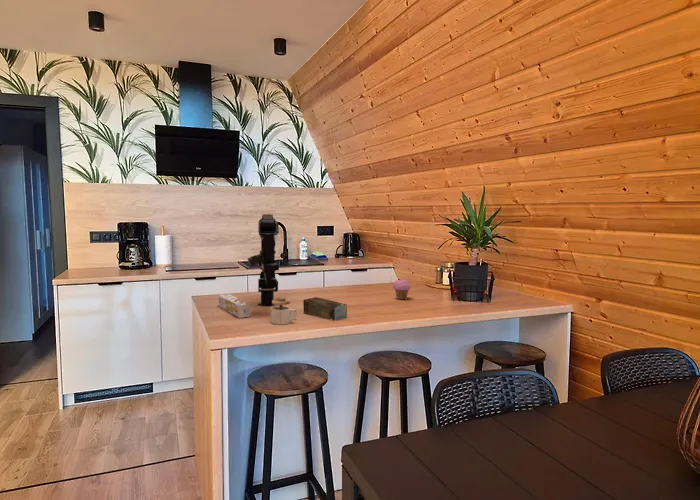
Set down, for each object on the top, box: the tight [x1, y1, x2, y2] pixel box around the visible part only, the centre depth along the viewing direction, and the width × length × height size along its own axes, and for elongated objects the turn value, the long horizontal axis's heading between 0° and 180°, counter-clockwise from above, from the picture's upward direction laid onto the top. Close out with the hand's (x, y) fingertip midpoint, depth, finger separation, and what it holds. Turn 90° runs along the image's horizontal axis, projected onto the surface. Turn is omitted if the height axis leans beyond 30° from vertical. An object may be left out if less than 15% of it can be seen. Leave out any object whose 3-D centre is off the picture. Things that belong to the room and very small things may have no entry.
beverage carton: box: [302, 296, 348, 321], centre depth 191 cm, size 8×19×7 cm, turn 48°
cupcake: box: [392, 278, 411, 300], centre depth 229 cm, size 9×9×10 cm
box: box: [218, 293, 252, 319], centre depth 196 cm, size 27×5×6 cm, turn 33°
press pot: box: [270, 305, 297, 326], centre depth 179 cm, size 10×8×6 cm
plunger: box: [272, 297, 291, 310], centre depth 178 cm, size 7×7×7 cm
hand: (268, 284), depth 194 cm, fingers closed
